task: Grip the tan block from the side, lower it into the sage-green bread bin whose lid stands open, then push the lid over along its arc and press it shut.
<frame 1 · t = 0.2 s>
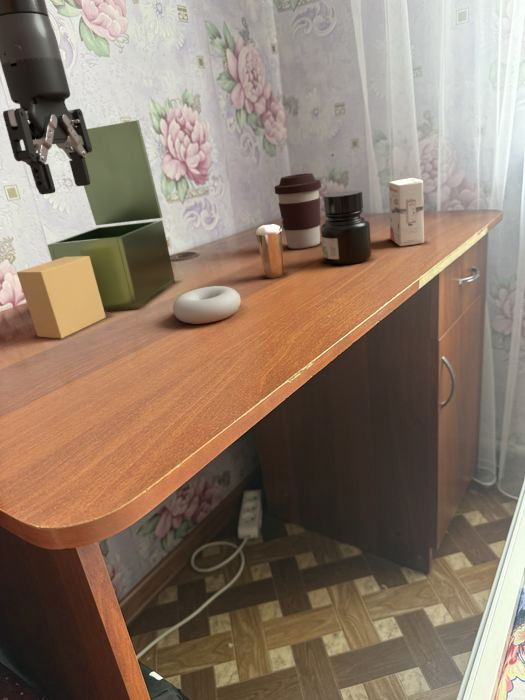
hand: (66, 189, 71), 20 cm above the table, tool pointing down, fingers open, 8 cm apart
ink box: (406, 242, 101), on the table
donut: (209, 316, 74), on the table
bread bin: (124, 296, 91), on the table
ink bottle: (347, 260, 94), on the table
coffee cup: (304, 246, 112), on the table
tan block: (72, 326, 78), on the table
milkshake: (276, 276, 90), on the table
bin lid: (116, 175, 89), point 20 cm above the table, hinge at 85.0°
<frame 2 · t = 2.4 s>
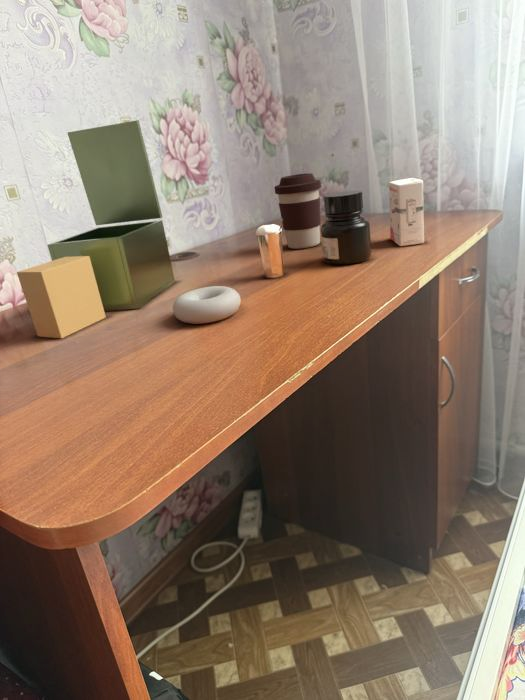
nothing on the table moved.
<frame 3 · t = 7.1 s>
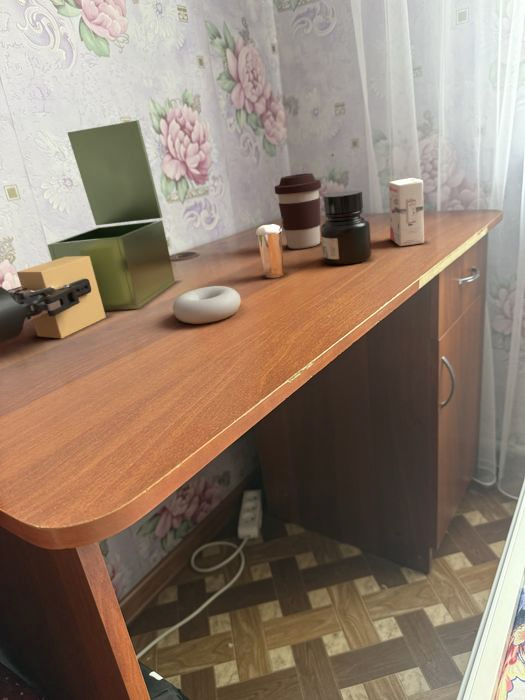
hand: (74, 284, 77), 6 cm above the table, tool horizontal, fingers closed on tan block, 5 cm apart
tan block: (72, 326, 78), on the table, touching gripper
everything else where it was.
when the fingers open (16 cm above the table, at t = 32.1 s): tan block drops 9 cm, resting on bread bin.
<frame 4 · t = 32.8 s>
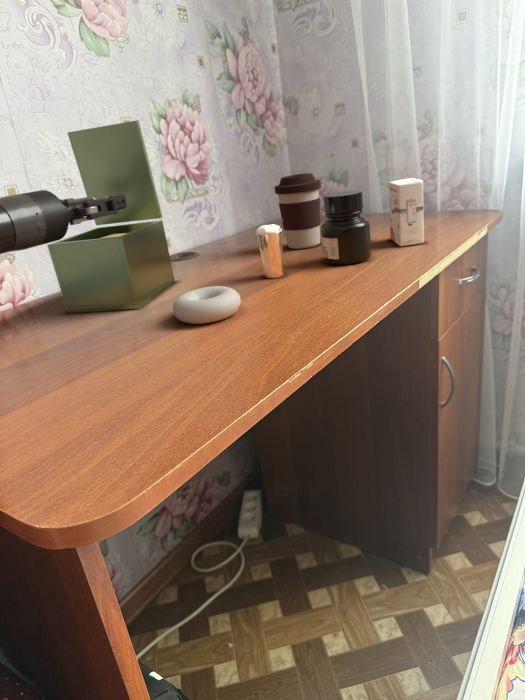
hand: (106, 202, 85), 16 cm above the table, tool horizontal, fingers open, 8 cm apart
tan block: (121, 294, 89), point 1 cm above the table, touching bread bin
everything else where it was.
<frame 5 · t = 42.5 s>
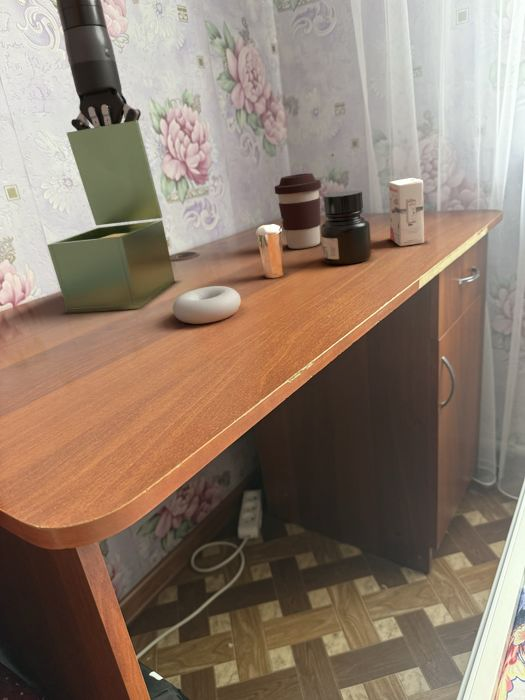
hand: (118, 170, 90), 21 cm above the table, tool pointing down, fingers closed
bin lid: (115, 176, 89), point 20 cm above the table, hinge at 84.0°, touching gripper
everything else where it was.
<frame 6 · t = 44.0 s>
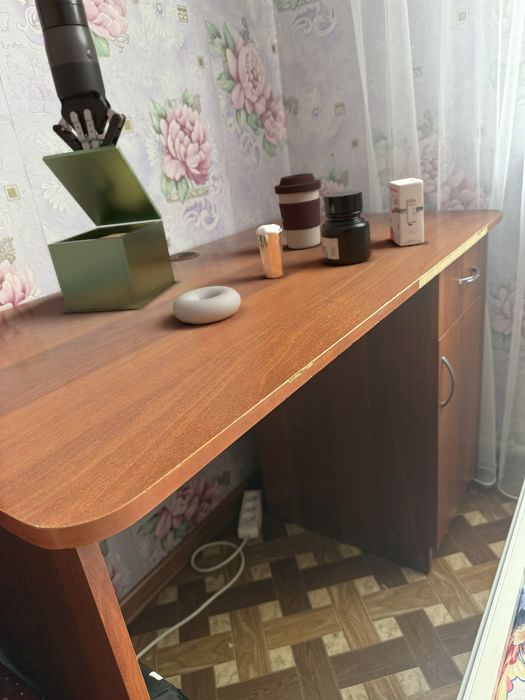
hand: (102, 178, 85), 20 cm above the table, tool pointing down, fingers closed
bin lid: (105, 189, 86), point 19 cm above the table, hinge at 50.3°, touching gripper
everything else where it was.
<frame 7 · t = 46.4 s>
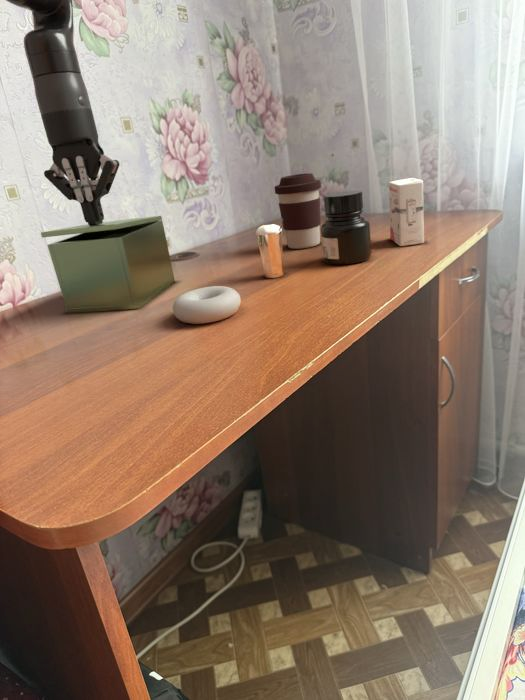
hand: (95, 224, 83), 14 cm above the table, tool pointing down, fingers closed
bin lid: (105, 225, 85), point 13 cm above the table, hinge at 4.4°, touching gripper
everything else where it was.
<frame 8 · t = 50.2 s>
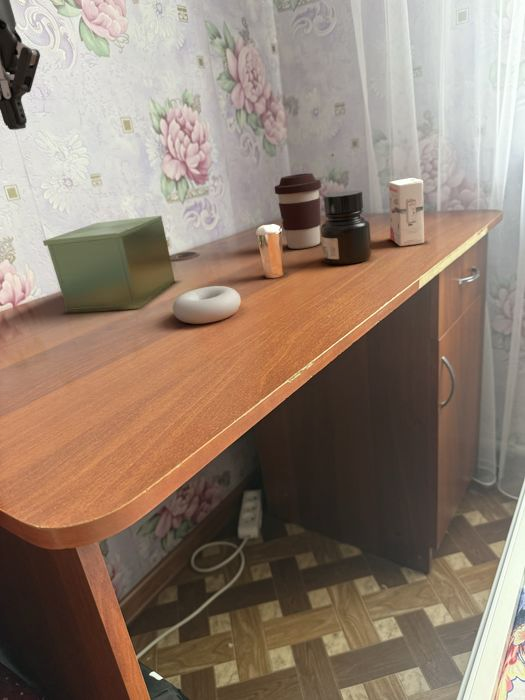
hand: (17, 128, 73), 29 cm above the table, tool pointing down, fingers closed
bin lid: (106, 229, 86), point 12 cm above the table, hinge at -0.2°, touching bread bin
everything else where it was.
at the end: tan block inside the target area in the bread bin (1.1 cm from its centre), point 0.8 cm above the bread bin's base; bin lid at +0° (first picture: +85°) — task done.
